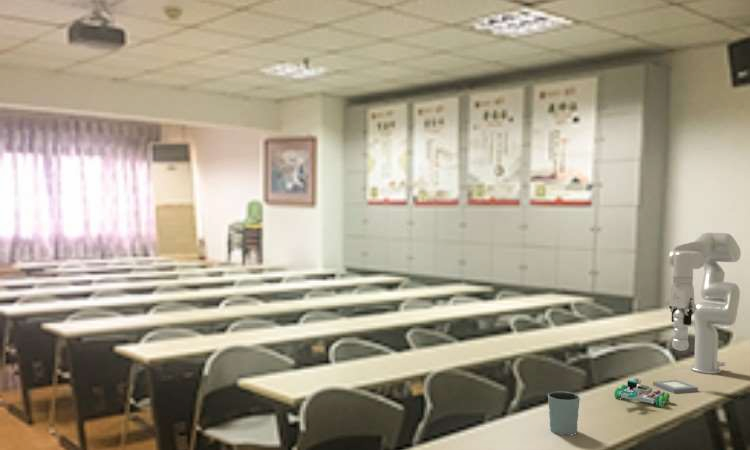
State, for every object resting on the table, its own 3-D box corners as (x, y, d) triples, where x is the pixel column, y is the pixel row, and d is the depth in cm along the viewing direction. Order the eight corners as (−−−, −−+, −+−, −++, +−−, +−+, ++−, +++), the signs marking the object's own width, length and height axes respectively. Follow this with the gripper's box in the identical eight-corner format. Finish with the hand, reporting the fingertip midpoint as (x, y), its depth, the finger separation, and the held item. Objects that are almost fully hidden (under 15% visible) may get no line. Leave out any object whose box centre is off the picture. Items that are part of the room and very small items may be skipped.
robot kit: (601, 405, 247) (601, 381, 247) (624, 392, 266) (625, 369, 266) (652, 416, 235) (653, 390, 235) (673, 401, 255) (673, 377, 254)
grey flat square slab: (676, 383, 280) (676, 380, 280) (697, 391, 268) (697, 387, 268) (653, 385, 276) (653, 381, 276) (673, 393, 265) (673, 389, 265)
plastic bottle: (685, 349, 280) (686, 302, 280) (691, 352, 273) (692, 304, 273) (669, 348, 281) (670, 301, 281) (675, 351, 274) (676, 303, 274)
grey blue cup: (585, 433, 216) (586, 397, 216) (564, 438, 210) (565, 401, 210) (561, 424, 224) (562, 389, 224) (540, 429, 219) (541, 393, 219)
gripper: (660, 279, 284) (659, 320, 284) (691, 283, 267) (689, 326, 268) (675, 279, 286) (673, 320, 286) (705, 283, 270) (704, 326, 270)
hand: (681, 322), depth 277 cm, fingers closed on plastic bottle, 6 cm apart
